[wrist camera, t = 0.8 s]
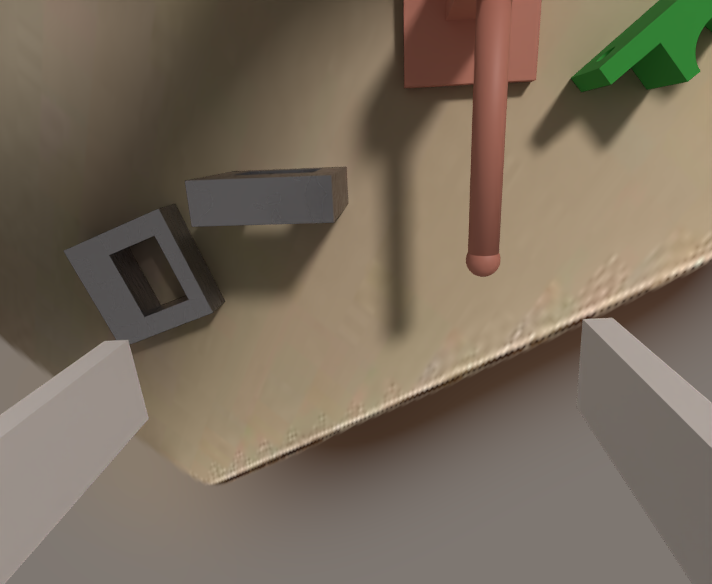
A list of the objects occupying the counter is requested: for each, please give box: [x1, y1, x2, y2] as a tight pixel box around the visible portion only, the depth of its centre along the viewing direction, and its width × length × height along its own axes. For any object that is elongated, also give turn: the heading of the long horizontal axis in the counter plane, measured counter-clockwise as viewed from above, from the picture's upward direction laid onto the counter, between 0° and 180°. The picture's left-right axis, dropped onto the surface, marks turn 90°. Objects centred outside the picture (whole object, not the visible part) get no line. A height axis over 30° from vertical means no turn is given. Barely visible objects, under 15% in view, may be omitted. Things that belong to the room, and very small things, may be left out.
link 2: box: [185, 167, 348, 227], centre depth 29 cm, size 2×8×8 cm, turn 93°
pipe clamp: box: [571, 0, 712, 92], centre depth 26 cm, size 11×4×5 cm, turn 133°
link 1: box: [64, 204, 225, 345], centre depth 35 cm, size 8×8×2 cm
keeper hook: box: [403, 0, 542, 277], centre depth 25 cm, size 20×8×10 cm, turn 2°
